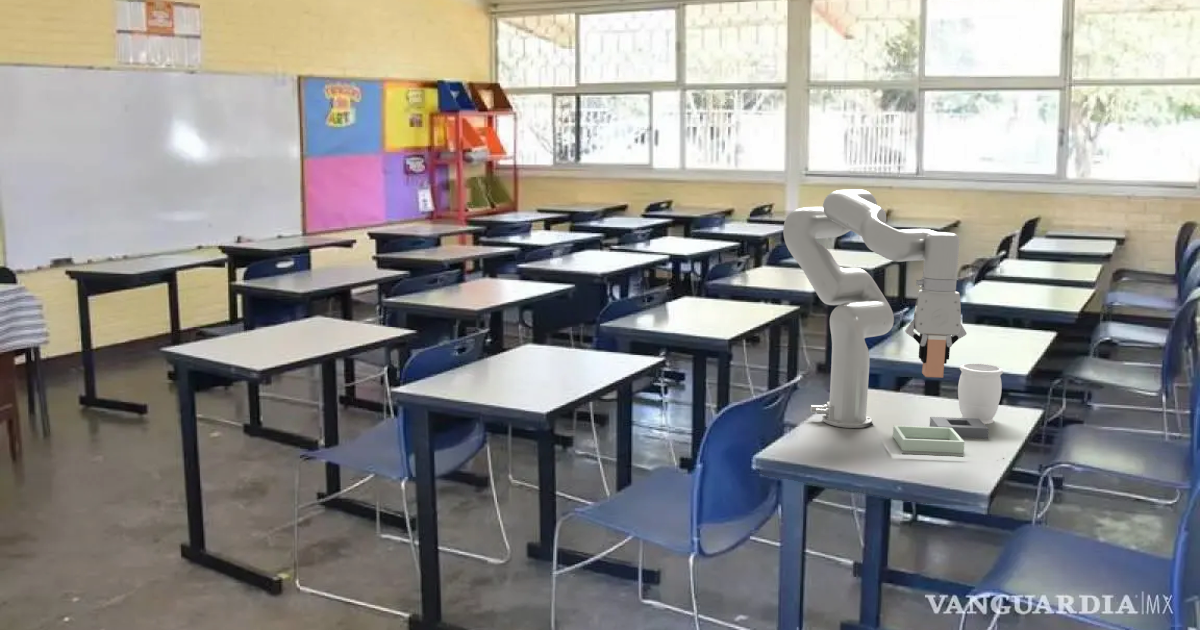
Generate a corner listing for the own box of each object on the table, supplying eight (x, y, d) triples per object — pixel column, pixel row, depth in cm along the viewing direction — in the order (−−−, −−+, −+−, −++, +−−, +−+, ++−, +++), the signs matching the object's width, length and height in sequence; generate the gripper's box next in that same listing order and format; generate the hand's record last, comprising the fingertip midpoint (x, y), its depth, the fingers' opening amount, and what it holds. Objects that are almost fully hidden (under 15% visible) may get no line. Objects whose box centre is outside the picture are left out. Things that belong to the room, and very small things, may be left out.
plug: (925, 376, 243) (928, 335, 241) (922, 373, 247) (924, 332, 245) (943, 377, 243) (946, 335, 241) (939, 373, 247) (942, 332, 245)
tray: (902, 454, 242) (903, 439, 242) (892, 439, 254) (893, 425, 254) (963, 456, 241) (964, 441, 241) (950, 441, 253) (952, 427, 252)
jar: (992, 418, 275) (996, 363, 272) (1003, 429, 265) (1008, 372, 262) (951, 417, 276) (955, 362, 273) (960, 427, 266) (965, 370, 263)
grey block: (937, 440, 254) (938, 426, 254) (929, 430, 263) (930, 416, 262) (987, 442, 253) (988, 428, 253) (977, 432, 262) (978, 418, 261)
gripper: (905, 286, 238) (900, 364, 241) (980, 288, 237) (974, 366, 240) (899, 282, 245) (894, 357, 249) (971, 284, 244) (965, 360, 247)
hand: (933, 361), depth 244 cm, fingers closed on plug, 4 cm apart
